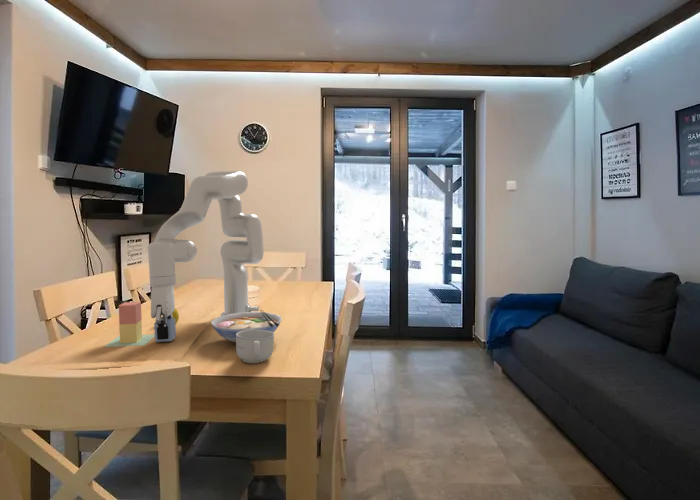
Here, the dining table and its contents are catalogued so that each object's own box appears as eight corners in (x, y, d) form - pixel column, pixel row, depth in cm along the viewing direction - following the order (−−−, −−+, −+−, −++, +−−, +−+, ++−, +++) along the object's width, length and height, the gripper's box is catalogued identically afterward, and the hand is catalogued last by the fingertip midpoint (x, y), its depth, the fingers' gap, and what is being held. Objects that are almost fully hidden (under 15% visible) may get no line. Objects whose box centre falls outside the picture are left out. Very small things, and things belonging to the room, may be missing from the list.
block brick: (141, 319, 138) (141, 302, 138) (136, 323, 133) (135, 305, 133) (125, 320, 138) (124, 302, 137) (119, 324, 133) (118, 305, 132)
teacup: (239, 354, 126) (239, 328, 126) (276, 353, 127) (276, 327, 127) (230, 371, 112) (230, 342, 112) (271, 370, 113) (271, 341, 113)
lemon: (173, 329, 154) (172, 308, 153) (159, 328, 155) (159, 307, 154) (182, 325, 159) (181, 304, 158) (169, 324, 160) (168, 304, 159)
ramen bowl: (209, 334, 147) (209, 311, 146) (274, 328, 155) (274, 307, 154) (213, 357, 124) (212, 330, 123) (289, 348, 132) (289, 323, 131)
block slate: (175, 336, 138) (175, 318, 137) (171, 340, 133) (170, 322, 132) (159, 336, 137) (158, 319, 137) (155, 341, 132) (154, 323, 132)
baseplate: (156, 337, 143) (156, 334, 143) (144, 348, 131) (144, 345, 131) (119, 339, 141) (118, 335, 141) (103, 350, 129) (103, 346, 129)
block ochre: (142, 337, 139) (141, 320, 138) (136, 342, 134) (136, 323, 133) (126, 338, 138) (125, 320, 138) (120, 342, 133) (119, 324, 133)
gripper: (158, 276, 141) (161, 329, 143) (141, 286, 124) (144, 345, 126) (181, 276, 142) (184, 328, 144) (167, 285, 125) (170, 344, 127)
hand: (165, 335), depth 135 cm, fingers closed on block slate, 4 cm apart
